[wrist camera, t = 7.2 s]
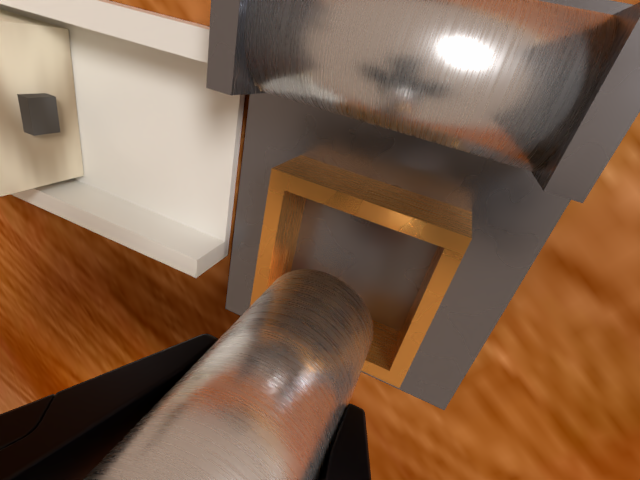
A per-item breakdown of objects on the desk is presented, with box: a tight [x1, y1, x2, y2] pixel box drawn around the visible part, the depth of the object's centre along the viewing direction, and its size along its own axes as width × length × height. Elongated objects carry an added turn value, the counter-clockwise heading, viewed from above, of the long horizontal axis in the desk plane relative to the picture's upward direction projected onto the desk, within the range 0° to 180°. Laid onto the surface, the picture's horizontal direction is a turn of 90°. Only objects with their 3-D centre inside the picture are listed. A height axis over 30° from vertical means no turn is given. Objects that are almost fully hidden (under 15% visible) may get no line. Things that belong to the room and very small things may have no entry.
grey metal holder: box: [206, 0, 640, 410], centre depth 13 cm, size 16×12×5 cm
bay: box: [0, 0, 245, 278], centre depth 17 cm, size 10×18×2 cm, turn 77°
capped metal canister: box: [83, 269, 373, 480], centre depth 7 cm, size 4×4×10 cm
